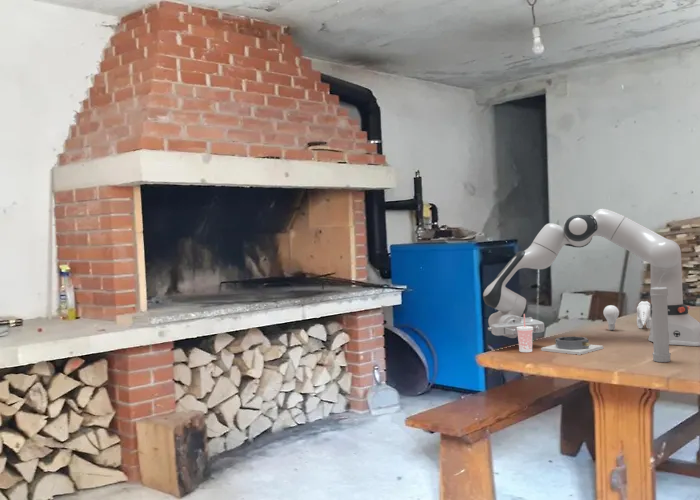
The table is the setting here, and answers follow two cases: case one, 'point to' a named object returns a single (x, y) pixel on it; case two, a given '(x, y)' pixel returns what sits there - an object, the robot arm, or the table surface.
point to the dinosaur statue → (643, 314)
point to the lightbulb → (611, 316)
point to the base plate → (575, 351)
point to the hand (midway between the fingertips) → (525, 331)
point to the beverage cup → (525, 337)
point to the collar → (572, 342)
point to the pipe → (660, 324)
